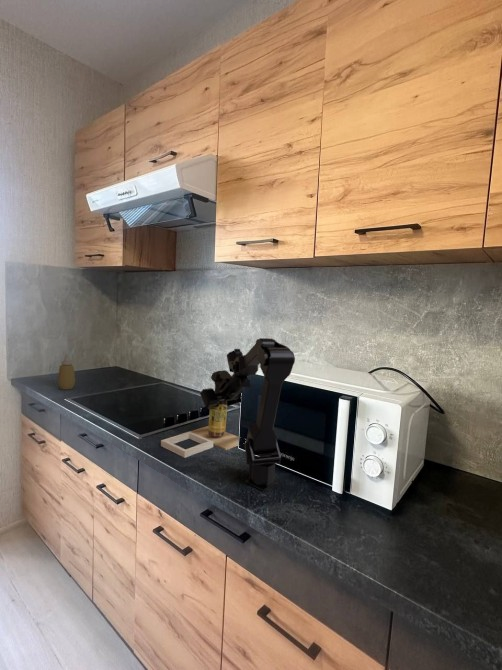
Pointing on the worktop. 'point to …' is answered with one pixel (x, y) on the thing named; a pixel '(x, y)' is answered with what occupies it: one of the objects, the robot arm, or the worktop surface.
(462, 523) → the worktop surface
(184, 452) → the collar
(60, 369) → the squeeze bottle
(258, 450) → the robot arm
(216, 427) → the sauce bottle
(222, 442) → the wooden board
